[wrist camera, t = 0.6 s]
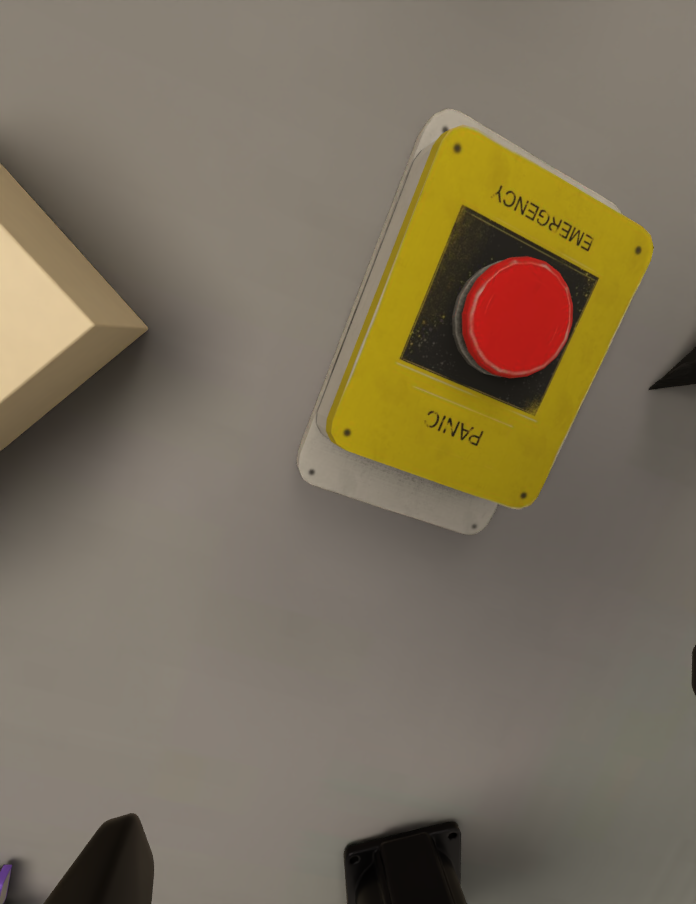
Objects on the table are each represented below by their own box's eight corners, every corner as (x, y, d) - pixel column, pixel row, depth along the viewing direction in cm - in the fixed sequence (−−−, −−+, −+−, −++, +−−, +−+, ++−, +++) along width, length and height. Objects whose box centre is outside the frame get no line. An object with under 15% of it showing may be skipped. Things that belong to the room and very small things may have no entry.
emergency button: (719, 186, 15) (526, 582, 18) (621, 218, 20) (474, 535, 22) (484, 31, 13) (297, 511, 15) (429, 105, 17) (288, 474, 20)
